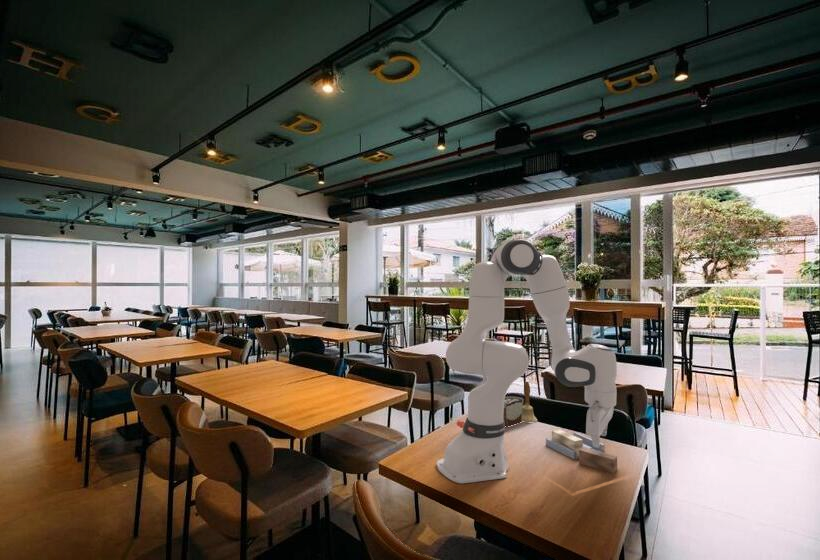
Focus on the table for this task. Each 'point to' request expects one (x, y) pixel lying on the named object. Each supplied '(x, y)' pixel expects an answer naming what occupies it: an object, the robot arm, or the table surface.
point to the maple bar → (567, 440)
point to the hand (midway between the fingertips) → (599, 440)
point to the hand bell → (527, 406)
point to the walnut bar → (598, 459)
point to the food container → (512, 410)
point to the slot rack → (569, 452)
